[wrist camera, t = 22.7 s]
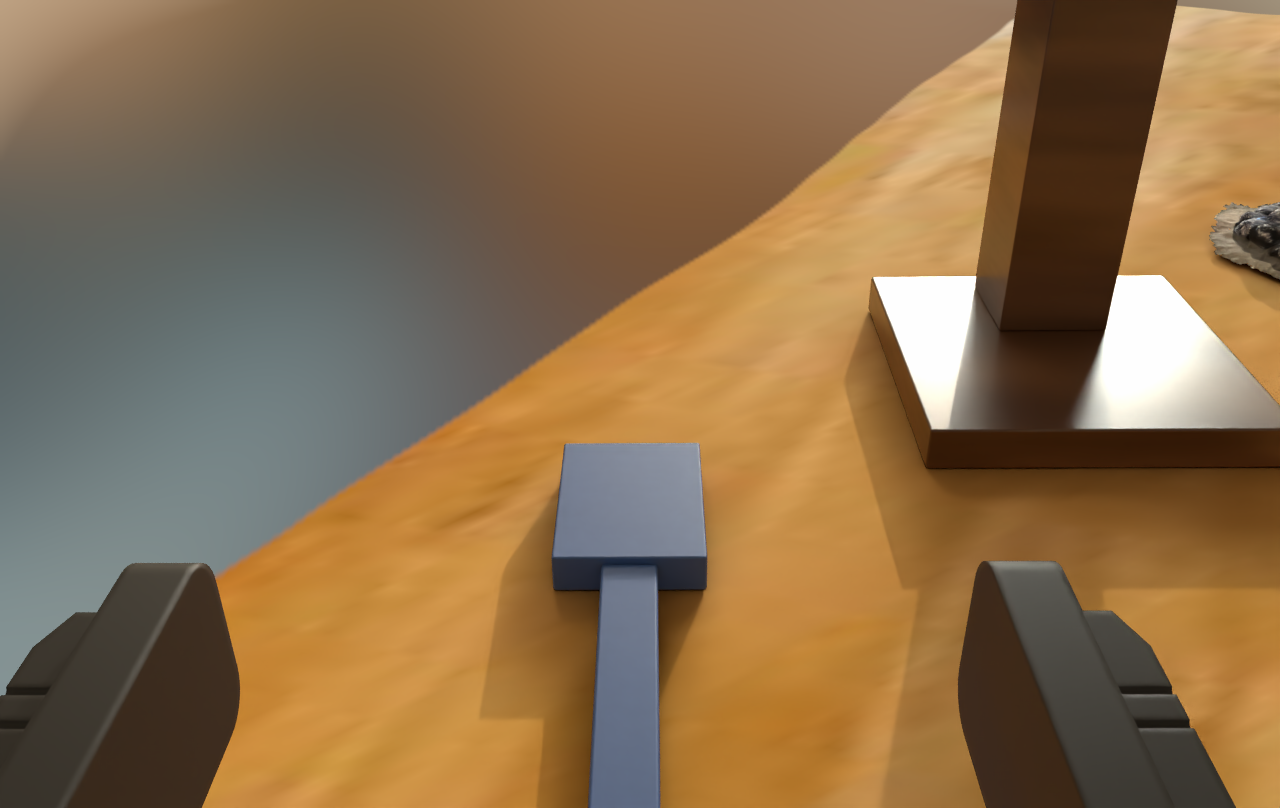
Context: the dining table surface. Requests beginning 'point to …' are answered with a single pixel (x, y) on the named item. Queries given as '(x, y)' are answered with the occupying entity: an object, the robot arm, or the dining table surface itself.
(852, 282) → the dining table surface
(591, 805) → the blue paddle stick
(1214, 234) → the grey flat lumpy piece
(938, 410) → the shelf stand
